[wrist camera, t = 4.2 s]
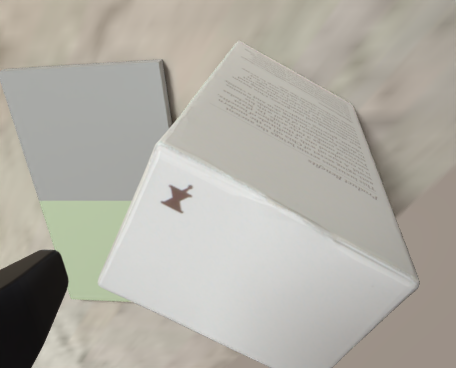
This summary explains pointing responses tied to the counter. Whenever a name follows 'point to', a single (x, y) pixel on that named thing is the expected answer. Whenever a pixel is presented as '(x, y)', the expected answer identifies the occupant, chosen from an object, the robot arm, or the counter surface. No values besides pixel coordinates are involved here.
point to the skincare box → (264, 221)
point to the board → (87, 152)
